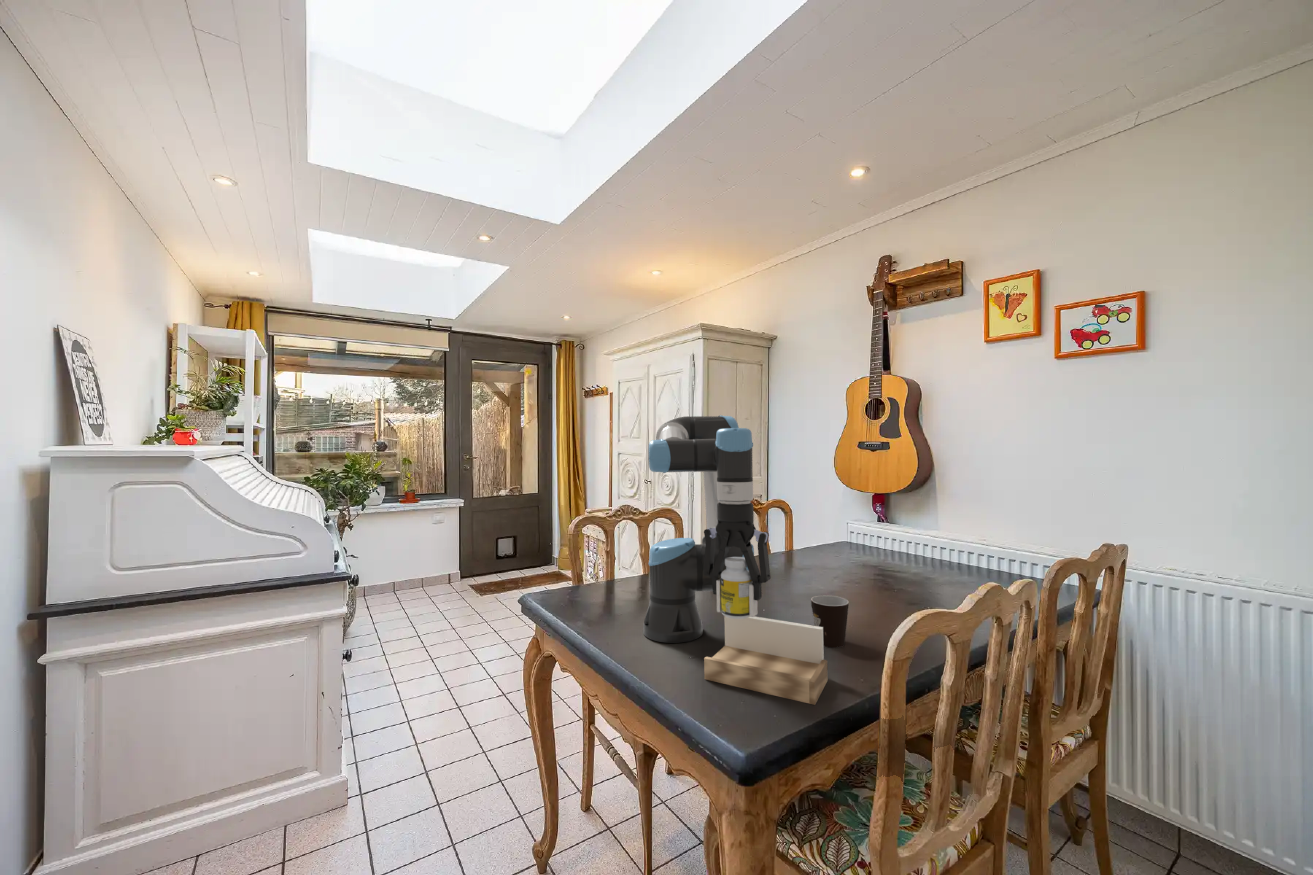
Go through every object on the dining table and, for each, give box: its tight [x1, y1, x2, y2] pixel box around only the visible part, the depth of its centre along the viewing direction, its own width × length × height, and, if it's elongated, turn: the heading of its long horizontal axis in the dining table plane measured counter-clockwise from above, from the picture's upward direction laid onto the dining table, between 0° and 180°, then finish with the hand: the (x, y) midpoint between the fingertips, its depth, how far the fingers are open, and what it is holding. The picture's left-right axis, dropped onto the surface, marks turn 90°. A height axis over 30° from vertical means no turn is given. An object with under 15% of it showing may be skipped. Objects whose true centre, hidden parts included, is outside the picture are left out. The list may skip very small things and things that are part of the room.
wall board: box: [723, 615, 825, 664], centre depth 109 cm, size 21×2×10 cm, turn 60°
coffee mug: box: [810, 594, 850, 649], centre depth 124 cm, size 12×9×10 cm
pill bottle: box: [720, 557, 752, 619], centre depth 107 cm, size 6×6×12 cm
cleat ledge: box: [703, 645, 829, 706], centre depth 104 cm, size 22×11×4 cm, turn 60°
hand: (737, 612), depth 107 cm, fingers closed on pill bottle, 6 cm apart
